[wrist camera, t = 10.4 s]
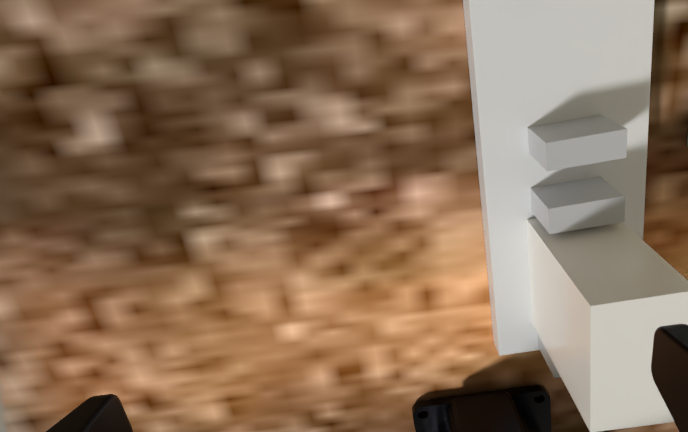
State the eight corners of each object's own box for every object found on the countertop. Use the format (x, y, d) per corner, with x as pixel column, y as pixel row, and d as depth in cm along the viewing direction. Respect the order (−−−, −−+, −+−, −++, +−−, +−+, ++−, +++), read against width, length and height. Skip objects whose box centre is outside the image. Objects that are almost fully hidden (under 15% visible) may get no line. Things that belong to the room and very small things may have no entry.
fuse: (603, 312, 23) (685, 420, 17) (532, 323, 23) (590, 432, 17) (605, 206, 21) (698, 289, 15) (526, 219, 21) (590, 305, 15)
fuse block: (627, 321, 24) (663, 366, 21) (493, 341, 24) (512, 387, 22) (657, -515, 13) (736, -640, 11) (422, -451, 14) (440, -555, 11)
